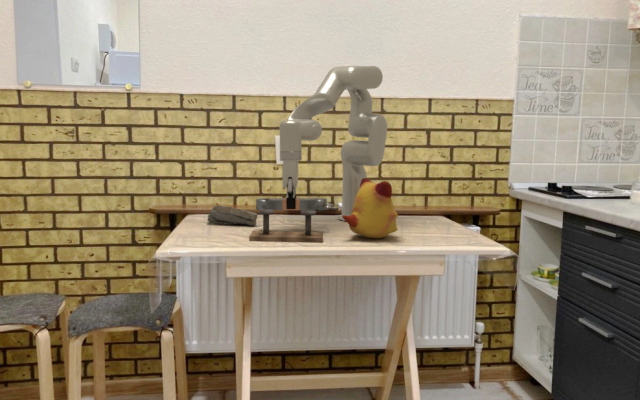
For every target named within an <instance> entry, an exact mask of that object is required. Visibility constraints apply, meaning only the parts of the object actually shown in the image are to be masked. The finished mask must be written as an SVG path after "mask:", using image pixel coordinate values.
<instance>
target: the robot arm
mask: <svg viewBox="0 0 640 400" xmlns="http://www.w3.org/2000/svg"><path fill="white" fill-rule="evenodd" d="M382 83H383V72H382V70H381V69H380V68H379V67H378V66H375V65H366V66H365V65H364V66H363V65H346V66H345V65H343V66H335V67H333V68H331V69H330V70H329V71H328V72H327V74H326V75H325V77H324V79H323V81H322V82H321V83H320V85H319V87H317V89H316V91H315V93H314V94H312V95H311V96H309V97H307V99H305V100H304V101H302V102H300V104H298V105H297V106H296V107H295V108H294V109H293V110H292V111H291V113H290V115H289V116H288V118H287V119H286V120H281V121H280V123H279V160H280V162H282V189H283V190H286V197H285V198H286V209H295V208H296V198H297V195H296V193H297V192H296V191H297V188H298V181H299V162H301V161H302V157H303V156H302V155H303V154H302V153H303V152H302V141H305V142H312V141H315V140H317V139H319V138H320V137H321V136H322V132H323V128H322V126H321V125H322V124H321V123H320V122H319V121H317V120H315V119H312V118H314V117H316V116H318V115H321V114H323V113H326V112H328V111H331V110H332V109H334V107H335V105H336V104H337V103H338V101H339V99H340V97H341V96H342V94H343V92H344V91H345V90H346V91H347V93H348V94H349V97H350V111H349V117H348V124H347V126H348V127H347V129H348V130H347V131H348V133H349V135H350V136H352V137H356V138H365V139H367V140H357V139H356V140H354V139H353V140H348V141H346V142H344V143H343V144H342V146H341V149H340V157H341V164H342V197H341V198H342V199H341V201H342V202H341V214H339V215H337V220H339V221H341V222H342V221H343V222H346V221H345V220H344V218H343V217H342V216H343V215H345V216H351V213H352V210H353V206H354V202H355V198H356V196H357V193H358V191H359V187H360V183H361V180H362V179H363V178H367V179H368V176H367V171H366V169H365V168H364V167H365V166H367V167H376V166H380V164H381V163H382V161H383V159H384V156H385V155H384V154H385V149H386V143H387V142H386V141H387V134H388V123H387V119H386V118H385V117H384V116H383V114H380V113H375V112H373V98H372V95H371V93H370V91H369V90H372V89H373V90H374V89H377V88H379V87H380V86H381V84H382Z"/></svg>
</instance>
